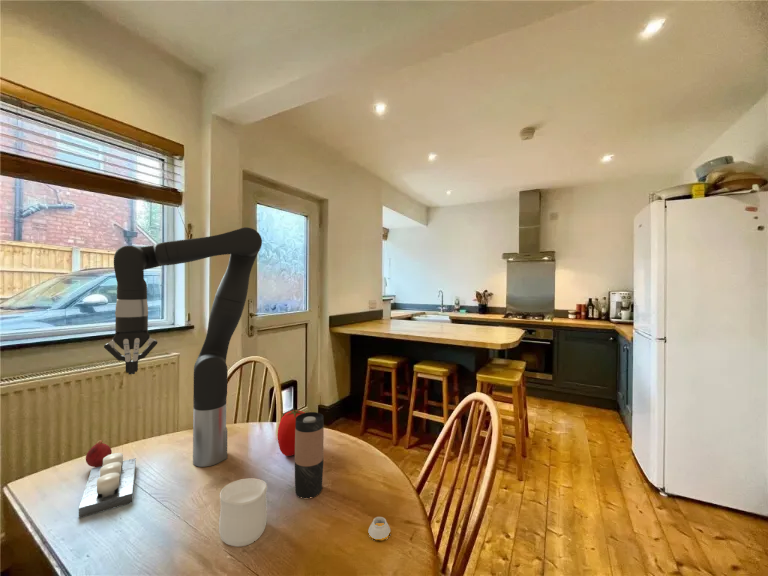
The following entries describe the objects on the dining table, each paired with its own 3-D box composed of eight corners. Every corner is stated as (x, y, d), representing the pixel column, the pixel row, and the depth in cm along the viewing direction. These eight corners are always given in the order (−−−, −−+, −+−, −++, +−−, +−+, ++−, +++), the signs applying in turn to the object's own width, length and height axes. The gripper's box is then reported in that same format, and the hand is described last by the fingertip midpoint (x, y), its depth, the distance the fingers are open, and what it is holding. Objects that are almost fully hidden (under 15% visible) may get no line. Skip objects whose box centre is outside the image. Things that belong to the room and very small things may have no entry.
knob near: (120, 492, 86) (120, 470, 86) (118, 501, 83) (118, 479, 83) (98, 498, 84) (98, 476, 84) (95, 508, 80) (95, 484, 80)
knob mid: (121, 481, 91) (122, 460, 91) (120, 489, 88) (120, 467, 88) (101, 486, 89) (101, 465, 89) (98, 495, 85) (99, 473, 85)
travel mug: (328, 486, 91) (329, 414, 91) (311, 502, 84) (312, 425, 84) (306, 479, 94) (307, 410, 94) (288, 494, 87) (289, 419, 87)
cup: (265, 543, 71) (266, 499, 71) (214, 554, 68) (214, 507, 68) (267, 513, 80) (268, 474, 80) (222, 521, 77) (223, 480, 77)
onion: (96, 474, 95) (96, 446, 95) (80, 471, 96) (80, 444, 96) (116, 463, 100) (116, 437, 100) (101, 461, 102) (101, 435, 101)
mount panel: (135, 465, 99) (135, 458, 99) (132, 502, 83) (132, 493, 83) (91, 476, 93) (91, 468, 93) (78, 518, 77) (78, 508, 77)
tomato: (299, 440, 117) (299, 401, 117) (321, 450, 110) (322, 408, 110) (268, 455, 107) (269, 412, 107) (291, 467, 100) (291, 421, 100)
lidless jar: (363, 534, 74) (379, 546, 71) (363, 521, 74) (380, 533, 71) (378, 522, 78) (394, 534, 74) (379, 510, 78) (395, 521, 74)
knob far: (123, 470, 96) (123, 451, 96) (122, 478, 93) (122, 457, 92) (103, 475, 94) (103, 455, 94) (101, 483, 90) (102, 462, 90)
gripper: (159, 312, 103) (158, 367, 103) (104, 314, 95) (103, 374, 95) (159, 315, 96) (159, 373, 97) (100, 317, 89) (100, 380, 89)
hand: (131, 373), depth 96 cm, fingers closed
